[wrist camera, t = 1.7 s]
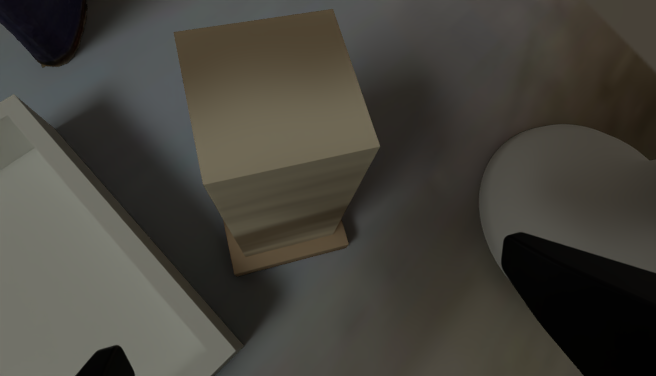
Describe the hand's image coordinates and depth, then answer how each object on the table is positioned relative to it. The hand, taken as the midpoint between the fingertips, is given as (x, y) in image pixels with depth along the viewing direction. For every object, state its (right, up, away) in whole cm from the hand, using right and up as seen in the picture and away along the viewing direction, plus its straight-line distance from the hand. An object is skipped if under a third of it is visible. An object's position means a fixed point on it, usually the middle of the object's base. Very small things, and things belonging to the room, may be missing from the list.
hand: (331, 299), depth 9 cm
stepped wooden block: (-3, +1, +13) cm, 13 cm away
